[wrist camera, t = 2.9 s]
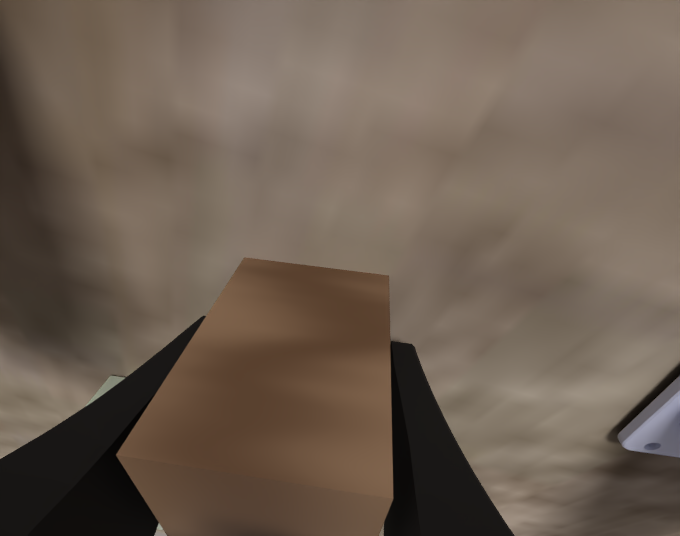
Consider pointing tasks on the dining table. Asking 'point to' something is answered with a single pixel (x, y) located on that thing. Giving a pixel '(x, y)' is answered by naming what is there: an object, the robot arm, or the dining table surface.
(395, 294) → the dining table surface
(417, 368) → the robot arm
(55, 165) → the dining table surface
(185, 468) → the walnut block
